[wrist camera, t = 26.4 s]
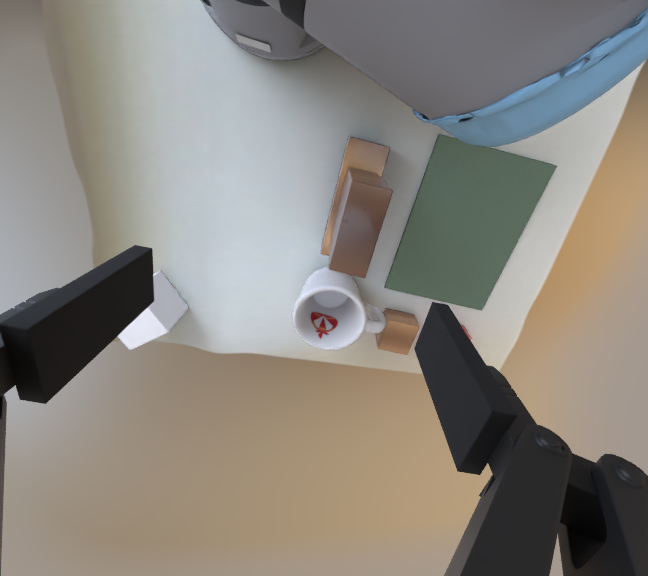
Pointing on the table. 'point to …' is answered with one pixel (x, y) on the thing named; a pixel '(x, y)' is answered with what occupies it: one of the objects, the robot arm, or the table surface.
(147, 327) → the white cube
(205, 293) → the table surface
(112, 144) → the table surface
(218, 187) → the table surface
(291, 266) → the table surface
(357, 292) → the cup
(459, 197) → the desk mat
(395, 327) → the cork block
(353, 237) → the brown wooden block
